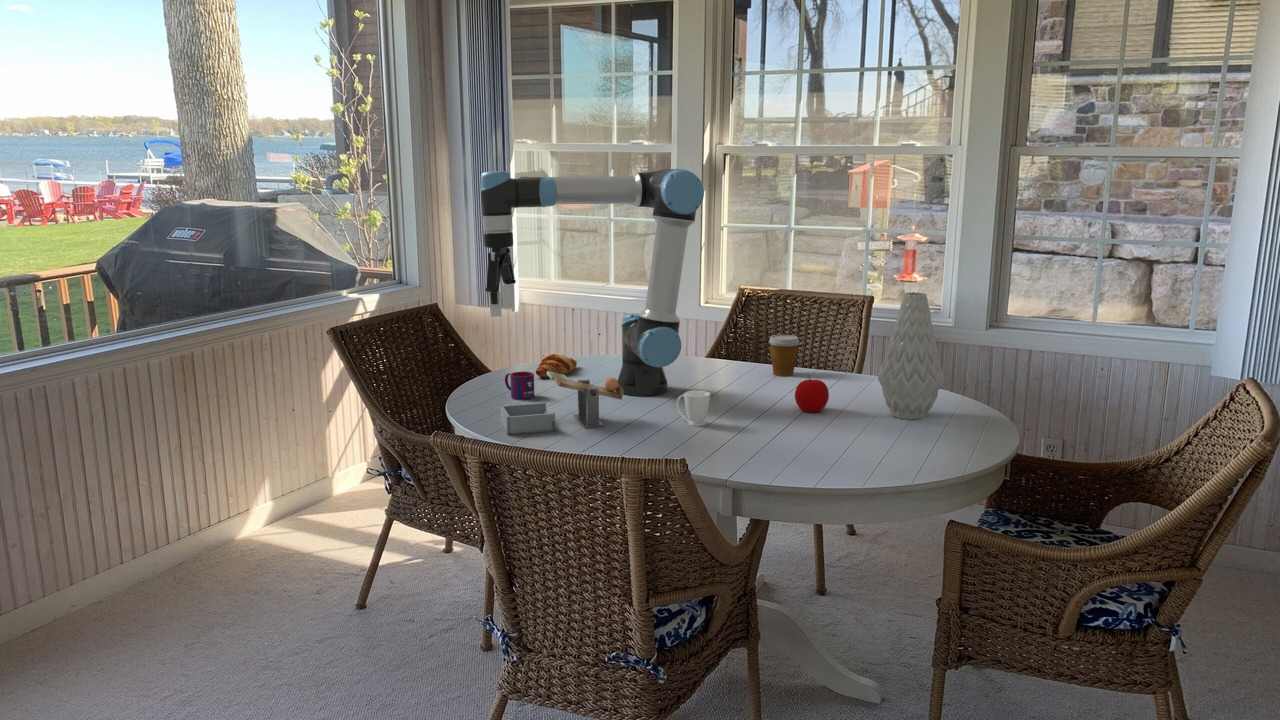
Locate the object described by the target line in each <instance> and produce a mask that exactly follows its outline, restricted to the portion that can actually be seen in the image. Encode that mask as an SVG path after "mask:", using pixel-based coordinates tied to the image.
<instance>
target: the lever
mask: <svg viewBox="0 0 1280 720" xmlns="http://www.w3.org/2000/svg"><path fill="white" fill-rule="evenodd" d="M547 375H548V376H549V377H548V378H550V379H551V380H553V382H555V383H556V385H557V386H558V387H561V388H565V389H569V390H570V389H571V390H575V391H578V390H579V391H584V392H586V388H599V396H603V397H607V398H612V399H616V400H623V397H624V394H623V393H624V390H623V389H622V388H621V387H620V386H619V385H618V388H617V389H616V390H615V391H608V390H607V389H606V388H605V386H599V385H594V384H591V383H590V384H586V383H582V382H578V380H577V381H576V380H571V379H570V378H569V377H567V374H566V375H563V374H559V373H554V372H550V371H547Z"/></svg>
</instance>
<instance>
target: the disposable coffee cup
mask: <svg viewBox="0 0 1280 720" xmlns="http://www.w3.org/2000/svg"><path fill="white" fill-rule="evenodd" d="M768 343H769V345H770V352H771V353H770V354H771V364H772V373H773V375H774V376H777V377H791V376H794V371H795V365H796V360H797V352H798V346H799V344H800V340H799V337H798V336H796V335H792V334H791V335H790V334H774V335H771V336H770V338H769V340H768Z"/></svg>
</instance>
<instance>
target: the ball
mask: <svg viewBox="0 0 1280 720" xmlns="http://www.w3.org/2000/svg"><path fill="white" fill-rule="evenodd" d="M617 380H618V379H617V378H615V377H613V376H611V377H608V378H606V379H605V381H604V388H606V389H607V390H608V391H615V390H616V389H617V388H618V381H617Z"/></svg>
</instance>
